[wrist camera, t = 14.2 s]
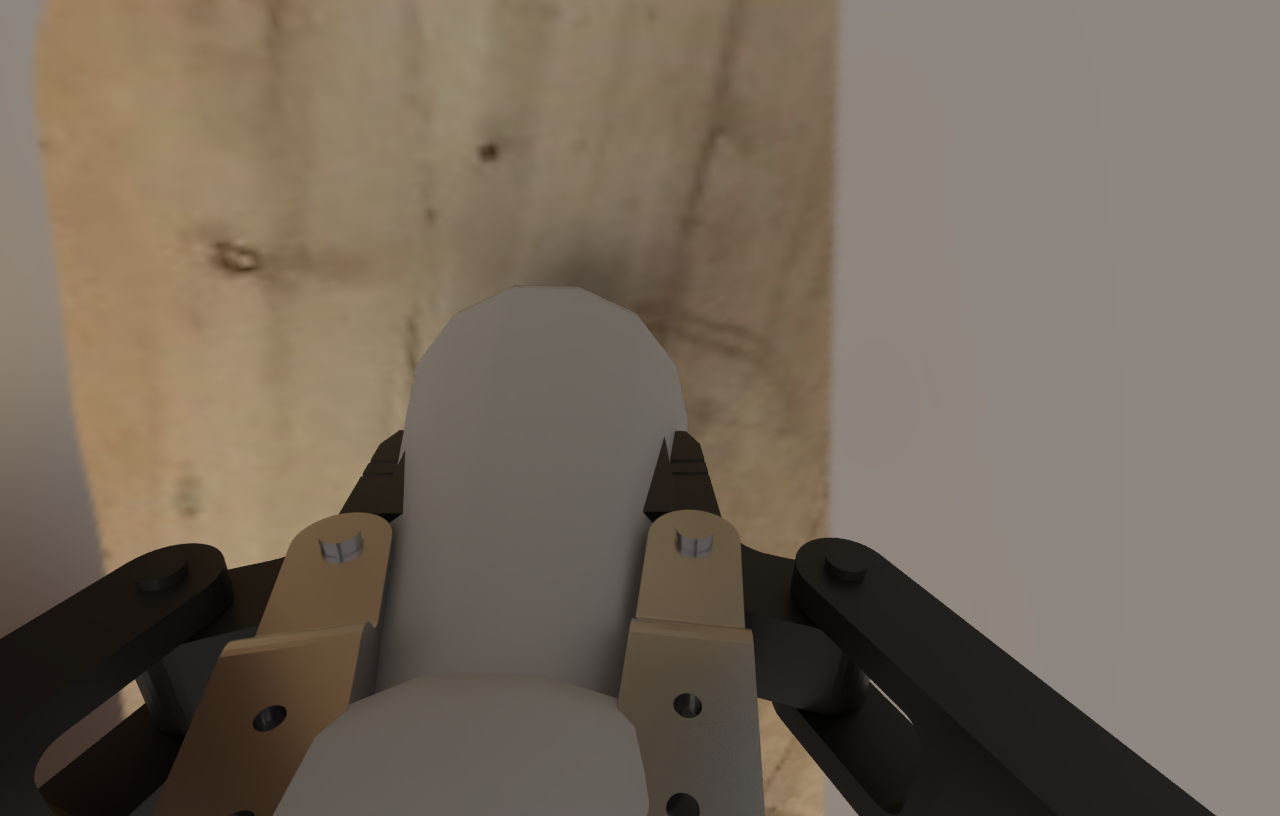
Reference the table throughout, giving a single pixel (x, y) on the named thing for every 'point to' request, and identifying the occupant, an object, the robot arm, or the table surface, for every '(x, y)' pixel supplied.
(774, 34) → the table surface
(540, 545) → the salt shaker
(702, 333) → the table surface
